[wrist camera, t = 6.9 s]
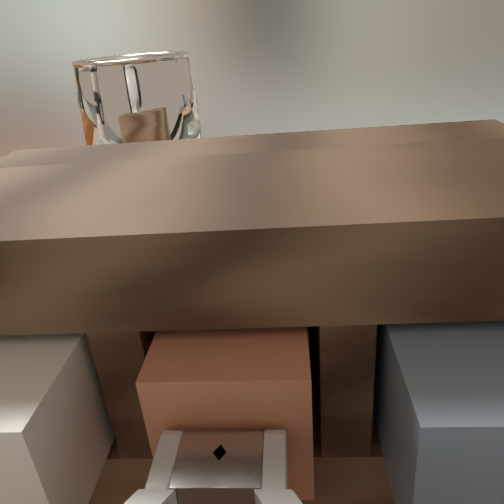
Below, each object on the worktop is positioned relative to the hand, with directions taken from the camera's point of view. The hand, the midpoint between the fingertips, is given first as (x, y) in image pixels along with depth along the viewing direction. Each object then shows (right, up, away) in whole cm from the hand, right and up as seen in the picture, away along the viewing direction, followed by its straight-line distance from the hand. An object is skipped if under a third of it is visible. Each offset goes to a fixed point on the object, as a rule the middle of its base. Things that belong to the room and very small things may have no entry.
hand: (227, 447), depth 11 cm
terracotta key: (0, 0, +4) cm, 4 cm away
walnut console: (+1, -3, +9) cm, 10 cm away
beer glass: (-5, +2, +22) cm, 23 cm away
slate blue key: (+6, -1, +2) cm, 7 cm away
